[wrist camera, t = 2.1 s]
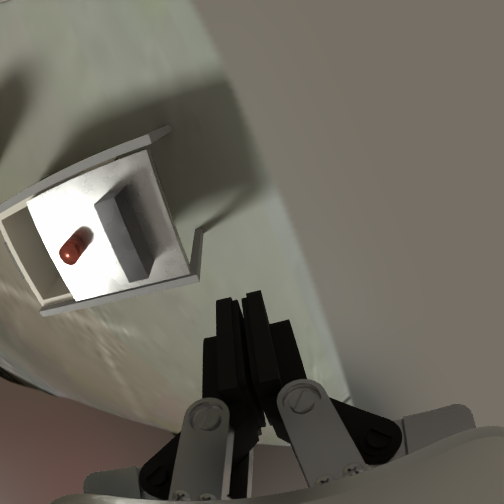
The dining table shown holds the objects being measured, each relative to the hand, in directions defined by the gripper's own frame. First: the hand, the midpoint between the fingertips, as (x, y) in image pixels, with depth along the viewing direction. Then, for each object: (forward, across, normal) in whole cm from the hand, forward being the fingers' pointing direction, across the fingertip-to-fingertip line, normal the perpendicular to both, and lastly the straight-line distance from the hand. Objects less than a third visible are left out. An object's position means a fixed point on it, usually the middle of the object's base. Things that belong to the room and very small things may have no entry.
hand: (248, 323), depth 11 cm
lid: (+14, +12, 0) cm, 19 cm away
